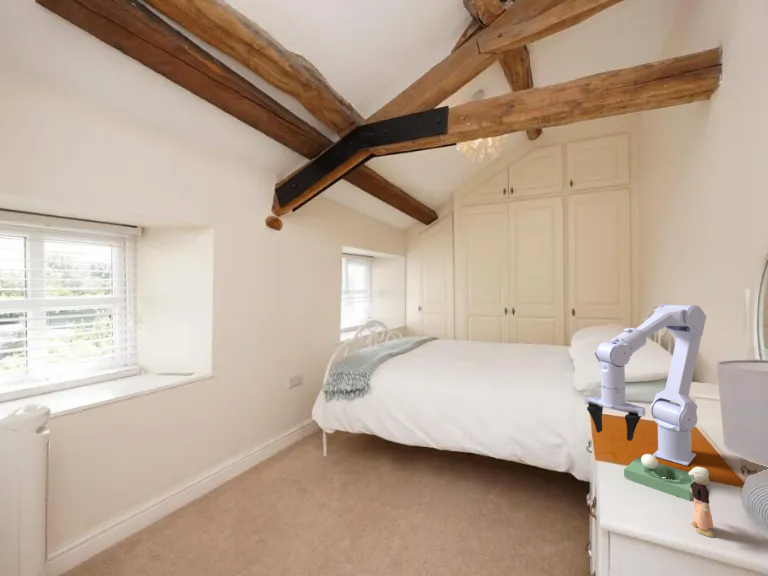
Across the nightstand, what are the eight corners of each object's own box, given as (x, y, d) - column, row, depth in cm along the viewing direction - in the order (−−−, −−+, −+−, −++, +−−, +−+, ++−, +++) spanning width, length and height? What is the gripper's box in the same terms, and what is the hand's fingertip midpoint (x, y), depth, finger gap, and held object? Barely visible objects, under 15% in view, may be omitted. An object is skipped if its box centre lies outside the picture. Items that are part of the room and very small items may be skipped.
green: (637, 465, 103) (637, 456, 103) (700, 485, 92) (700, 475, 92) (624, 478, 97) (624, 469, 97) (689, 500, 86) (689, 490, 86)
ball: (642, 451, 99) (659, 454, 97) (644, 465, 99) (660, 468, 96) (638, 454, 97) (655, 457, 94) (640, 468, 97) (656, 472, 94)
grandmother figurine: (725, 541, 73) (724, 477, 73) (702, 539, 73) (701, 475, 73) (700, 517, 80) (699, 459, 80) (680, 515, 81) (679, 457, 81)
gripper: (579, 384, 106) (580, 431, 106) (638, 395, 95) (639, 448, 95) (589, 379, 110) (591, 425, 110) (647, 389, 99) (648, 440, 99)
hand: (614, 435), depth 103 cm, fingers open, 7 cm apart
